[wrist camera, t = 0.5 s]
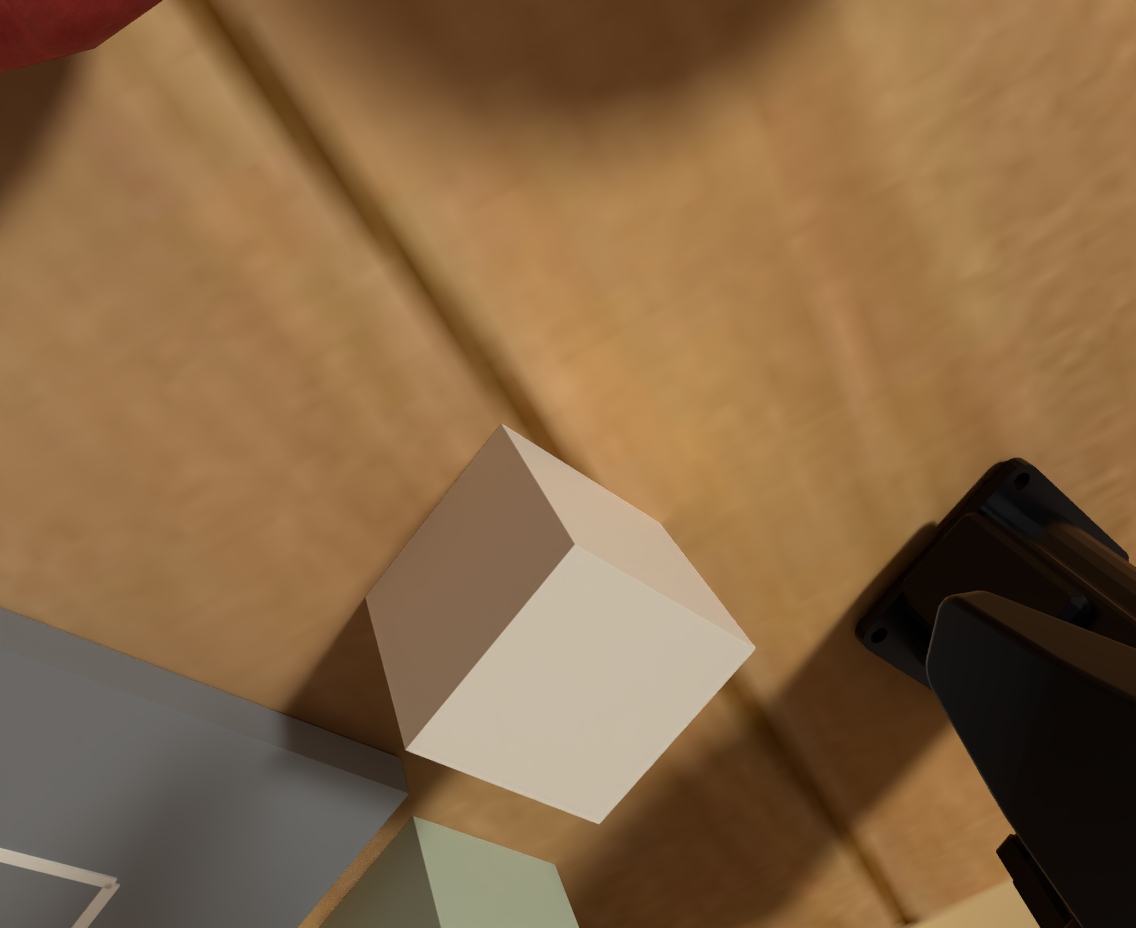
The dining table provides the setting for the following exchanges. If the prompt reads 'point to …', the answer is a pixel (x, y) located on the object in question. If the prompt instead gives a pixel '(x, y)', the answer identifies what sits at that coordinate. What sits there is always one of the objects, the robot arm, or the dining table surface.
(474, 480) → the cream block
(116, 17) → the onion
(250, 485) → the dining table surface
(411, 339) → the dining table surface
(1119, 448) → the dining table surface
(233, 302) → the dining table surface
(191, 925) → the slate board
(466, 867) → the sage block
